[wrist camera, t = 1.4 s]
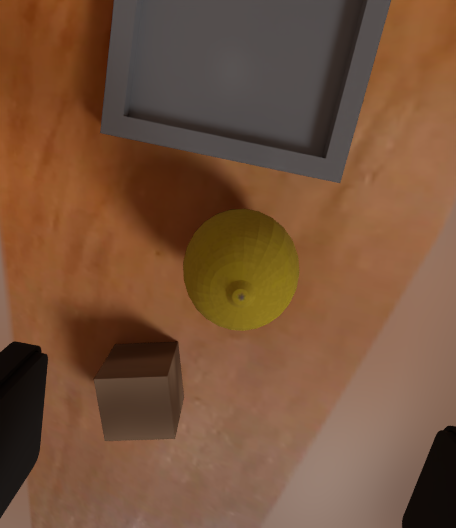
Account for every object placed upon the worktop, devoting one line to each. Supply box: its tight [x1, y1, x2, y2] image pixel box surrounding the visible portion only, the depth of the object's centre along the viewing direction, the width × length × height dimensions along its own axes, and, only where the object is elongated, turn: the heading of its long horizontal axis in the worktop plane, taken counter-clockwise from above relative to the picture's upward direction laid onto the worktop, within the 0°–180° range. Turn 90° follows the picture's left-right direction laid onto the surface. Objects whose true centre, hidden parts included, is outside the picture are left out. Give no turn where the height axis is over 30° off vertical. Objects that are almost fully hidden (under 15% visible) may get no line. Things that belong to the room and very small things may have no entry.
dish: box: [100, 0, 391, 183], centre depth 20 cm, size 12×12×2 cm
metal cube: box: [94, 342, 184, 441], centre depth 25 cm, size 4×4×4 cm
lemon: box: [183, 209, 299, 331], centre depth 20 cm, size 6×6×8 cm
